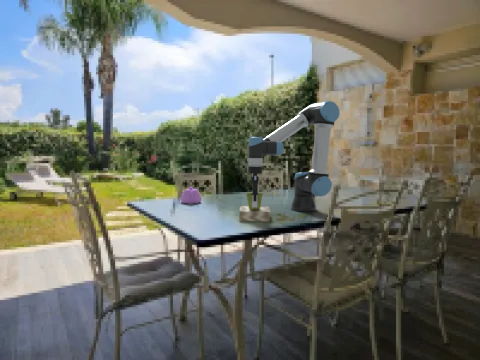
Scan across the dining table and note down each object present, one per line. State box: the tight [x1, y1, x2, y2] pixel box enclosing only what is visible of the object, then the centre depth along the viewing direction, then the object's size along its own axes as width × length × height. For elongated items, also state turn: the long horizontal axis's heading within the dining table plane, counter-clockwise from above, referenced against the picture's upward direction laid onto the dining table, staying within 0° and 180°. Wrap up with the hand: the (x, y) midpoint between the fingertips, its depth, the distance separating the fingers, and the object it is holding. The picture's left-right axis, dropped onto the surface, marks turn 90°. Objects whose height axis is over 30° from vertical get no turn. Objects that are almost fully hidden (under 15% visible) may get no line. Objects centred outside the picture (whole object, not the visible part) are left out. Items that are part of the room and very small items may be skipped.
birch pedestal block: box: [238, 205, 271, 222], centre depth 196 cm, size 16×16×5 cm
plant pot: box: [245, 192, 264, 209], centre depth 192 cm, size 9×9×9 cm
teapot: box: [180, 186, 202, 205], centre depth 245 cm, size 14×20×11 cm
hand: (254, 205), depth 195 cm, fingers open, 13 cm apart
